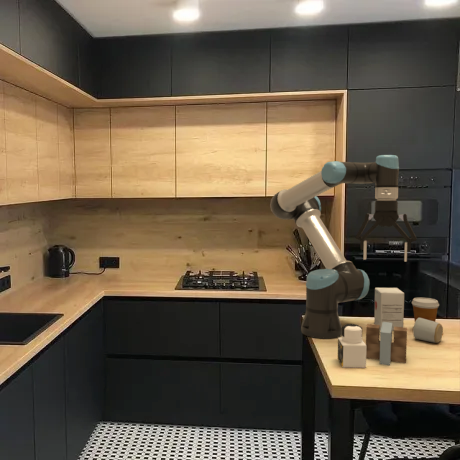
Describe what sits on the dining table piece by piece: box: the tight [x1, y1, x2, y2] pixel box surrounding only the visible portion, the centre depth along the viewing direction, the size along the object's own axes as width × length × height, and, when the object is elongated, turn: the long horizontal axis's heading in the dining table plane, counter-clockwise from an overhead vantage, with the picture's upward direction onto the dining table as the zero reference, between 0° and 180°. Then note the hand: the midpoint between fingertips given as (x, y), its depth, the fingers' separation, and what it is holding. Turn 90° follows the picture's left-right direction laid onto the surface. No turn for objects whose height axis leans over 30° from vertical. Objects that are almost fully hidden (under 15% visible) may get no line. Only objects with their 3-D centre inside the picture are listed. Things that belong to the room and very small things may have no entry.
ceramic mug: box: [412, 318, 444, 344], centre depth 160 cm, size 11×8×8 cm
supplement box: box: [373, 287, 405, 332], centre depth 175 cm, size 9×9×15 cm
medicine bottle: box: [337, 323, 367, 369], centre depth 138 cm, size 7×7×12 cm
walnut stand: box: [365, 323, 408, 364], centre depth 142 cm, size 12×4×10 cm, turn 68°
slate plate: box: [379, 322, 393, 366], centre depth 142 cm, size 3×12×10 cm, turn 158°
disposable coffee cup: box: [411, 297, 440, 322], centre depth 170 cm, size 10×10×12 cm
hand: (384, 260), depth 159 cm, fingers open, 13 cm apart
